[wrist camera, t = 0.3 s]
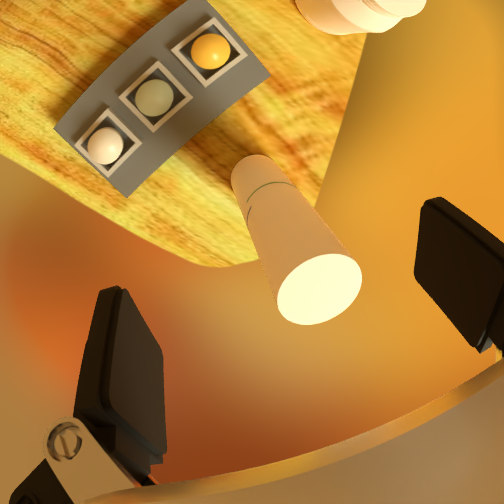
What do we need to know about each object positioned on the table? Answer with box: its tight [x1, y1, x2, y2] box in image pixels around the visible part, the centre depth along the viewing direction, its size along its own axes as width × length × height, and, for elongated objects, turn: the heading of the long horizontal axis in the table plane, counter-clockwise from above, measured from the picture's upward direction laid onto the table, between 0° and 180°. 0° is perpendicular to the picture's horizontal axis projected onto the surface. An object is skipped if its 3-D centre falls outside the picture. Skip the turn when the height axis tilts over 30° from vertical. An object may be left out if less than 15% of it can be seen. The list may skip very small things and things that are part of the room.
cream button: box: [88, 127, 124, 164], centre depth 33 cm, size 4×4×2 cm
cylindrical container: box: [231, 155, 362, 325], centre depth 35 cm, size 7×7×25 cm
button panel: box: [53, 0, 271, 198], centre depth 34 cm, size 14×24×4 cm, turn 128°
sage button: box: [135, 79, 173, 116], centre depth 32 cm, size 4×4×2 cm
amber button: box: [191, 34, 230, 69], centre depth 30 cm, size 4×4×2 cm
